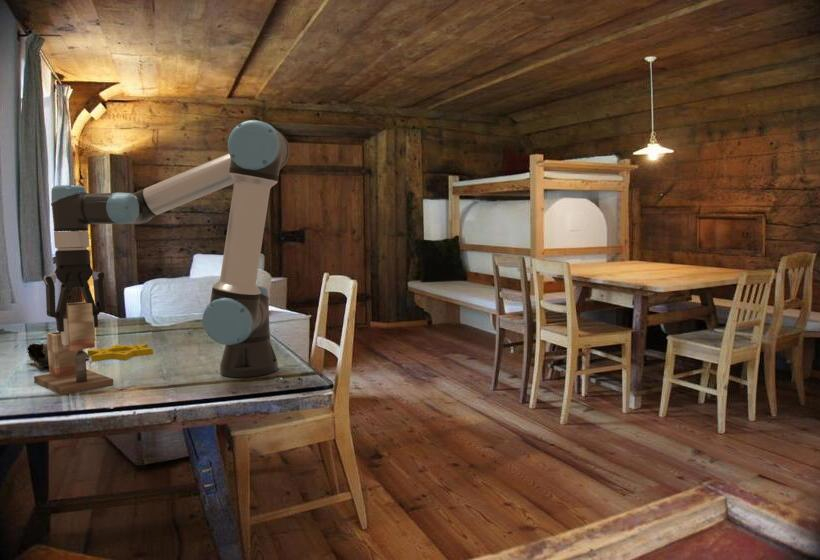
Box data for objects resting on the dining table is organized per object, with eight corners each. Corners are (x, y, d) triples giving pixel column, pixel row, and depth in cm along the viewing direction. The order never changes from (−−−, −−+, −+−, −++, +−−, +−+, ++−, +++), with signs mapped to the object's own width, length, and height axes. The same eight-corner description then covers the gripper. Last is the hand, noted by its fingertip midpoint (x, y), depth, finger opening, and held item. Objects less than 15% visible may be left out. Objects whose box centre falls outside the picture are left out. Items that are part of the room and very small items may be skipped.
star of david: (156, 358, 194) (155, 350, 194) (93, 365, 185) (92, 358, 185) (145, 348, 211) (144, 341, 211) (86, 355, 202) (86, 348, 202)
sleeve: (86, 344, 162) (83, 301, 161) (94, 347, 158) (91, 303, 157) (63, 348, 158) (60, 304, 157) (71, 350, 154) (68, 305, 153)
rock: (41, 385, 177) (99, 369, 186) (34, 353, 174) (93, 339, 183) (28, 363, 190) (83, 349, 199) (22, 333, 187) (77, 321, 196)
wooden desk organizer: (113, 384, 160) (110, 335, 159) (62, 395, 152) (58, 343, 150) (83, 373, 174) (79, 328, 173) (34, 382, 165) (30, 334, 164)
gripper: (104, 247, 165) (110, 335, 167) (25, 250, 151) (32, 346, 153) (117, 247, 160) (122, 338, 162) (35, 251, 146) (43, 350, 148)
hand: (78, 342), depth 158 cm, fingers closed on sleeve, 5 cm apart
